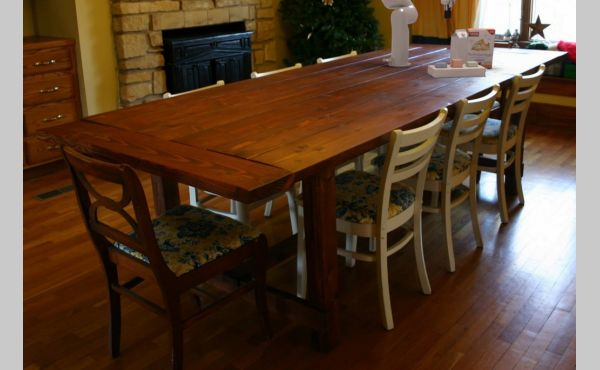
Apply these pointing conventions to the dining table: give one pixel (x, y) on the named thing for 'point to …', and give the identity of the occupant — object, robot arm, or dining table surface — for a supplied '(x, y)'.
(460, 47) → the milk carton
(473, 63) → the key sage
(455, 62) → the key terracotta
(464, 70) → the white rectangular tray
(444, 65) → the key slate
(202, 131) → the dining table surface
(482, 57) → the cracker box
